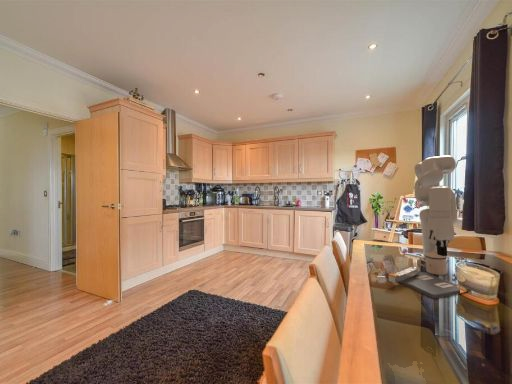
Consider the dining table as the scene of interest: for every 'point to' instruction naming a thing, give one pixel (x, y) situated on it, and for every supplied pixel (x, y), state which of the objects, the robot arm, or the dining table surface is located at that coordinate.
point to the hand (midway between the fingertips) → (442, 255)
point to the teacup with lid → (434, 263)
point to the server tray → (431, 285)
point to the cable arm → (404, 274)
